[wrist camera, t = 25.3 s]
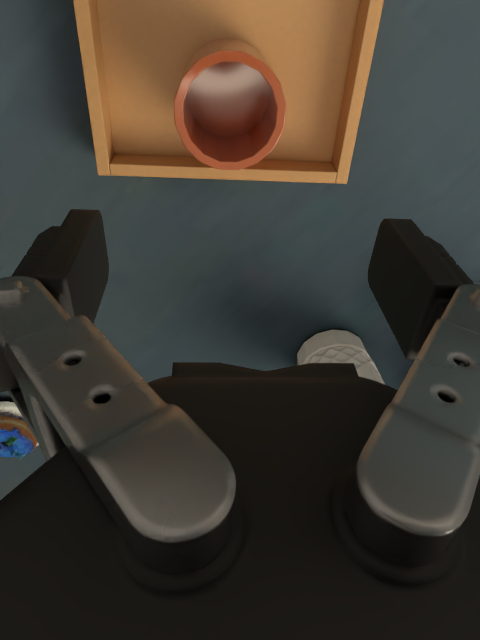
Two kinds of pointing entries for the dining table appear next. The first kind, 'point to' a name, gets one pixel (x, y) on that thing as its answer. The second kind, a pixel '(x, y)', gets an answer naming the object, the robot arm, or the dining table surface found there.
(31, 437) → the dessert
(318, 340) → the white cup
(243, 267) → the dining table surface
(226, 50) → the terracotta cup
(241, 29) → the serving tray
